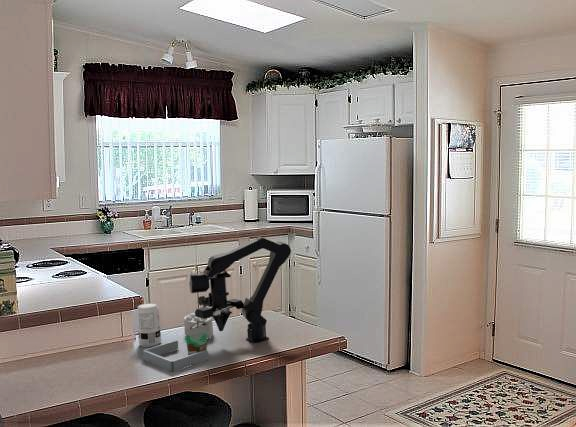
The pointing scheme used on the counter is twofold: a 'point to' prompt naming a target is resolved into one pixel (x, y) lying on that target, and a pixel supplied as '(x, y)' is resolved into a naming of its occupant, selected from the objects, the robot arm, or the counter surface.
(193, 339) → the food container
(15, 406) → the counter surface
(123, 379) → the counter surface
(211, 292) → the robot arm
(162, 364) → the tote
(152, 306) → the supplement can
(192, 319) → the lumpy-topped squat cylinder
